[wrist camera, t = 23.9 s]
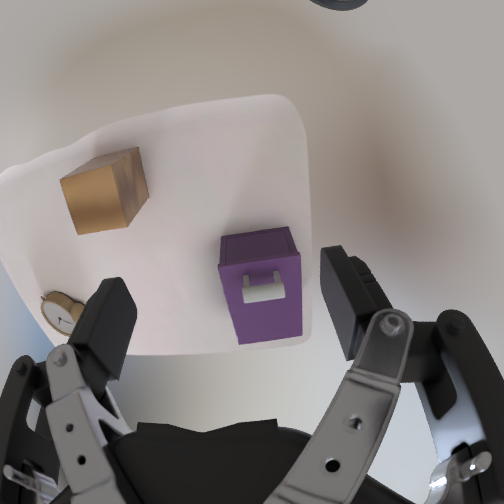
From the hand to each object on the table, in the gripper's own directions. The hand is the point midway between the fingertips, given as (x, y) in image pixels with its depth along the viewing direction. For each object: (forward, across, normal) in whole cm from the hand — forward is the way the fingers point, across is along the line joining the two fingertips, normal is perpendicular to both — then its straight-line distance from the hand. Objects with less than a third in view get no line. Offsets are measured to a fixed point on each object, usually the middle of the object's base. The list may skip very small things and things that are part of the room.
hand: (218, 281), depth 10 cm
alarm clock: (+30, +42, +27) cm, 59 cm away
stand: (+30, +17, +2) cm, 35 cm away
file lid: (+22, -2, +22) cm, 31 cm away
